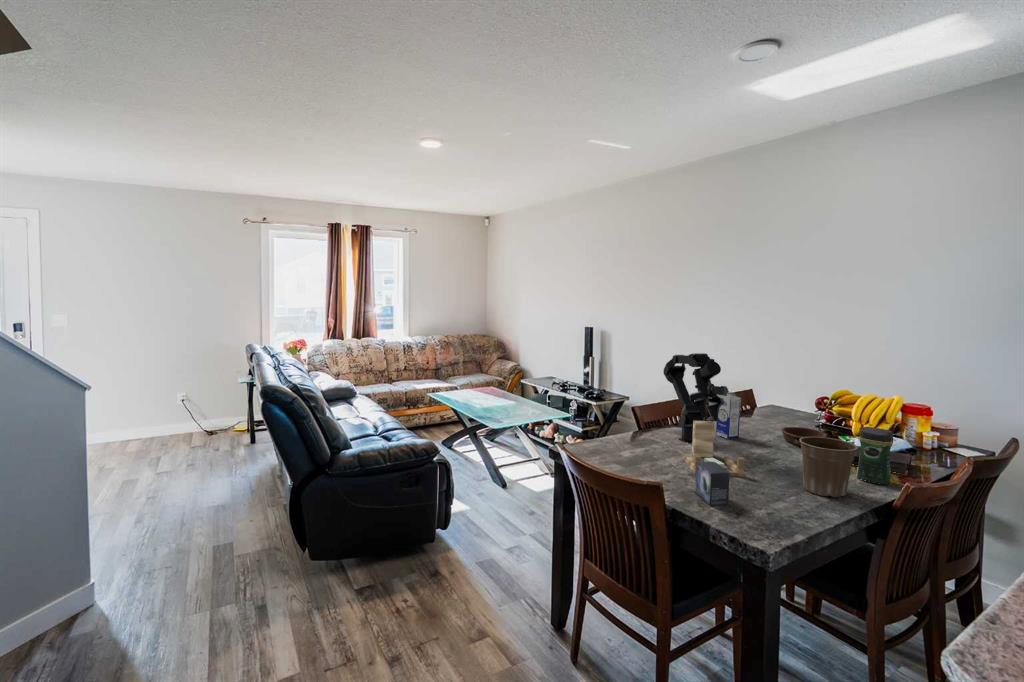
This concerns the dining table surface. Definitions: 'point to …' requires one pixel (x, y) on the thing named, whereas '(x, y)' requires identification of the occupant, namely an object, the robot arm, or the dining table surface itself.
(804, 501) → the dining table surface
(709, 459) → the offcut top
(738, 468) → the rack
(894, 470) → the diary
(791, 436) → the dish
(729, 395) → the milk carton
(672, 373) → the robot arm
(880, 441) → the coffee jar
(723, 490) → the small box
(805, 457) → the plant pot
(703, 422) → the pale wooden block
